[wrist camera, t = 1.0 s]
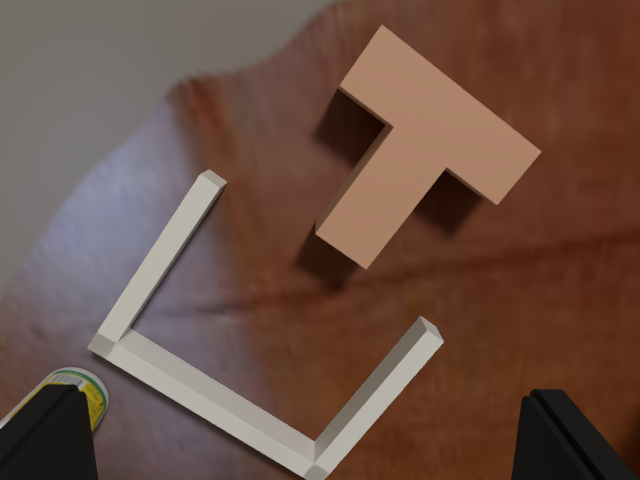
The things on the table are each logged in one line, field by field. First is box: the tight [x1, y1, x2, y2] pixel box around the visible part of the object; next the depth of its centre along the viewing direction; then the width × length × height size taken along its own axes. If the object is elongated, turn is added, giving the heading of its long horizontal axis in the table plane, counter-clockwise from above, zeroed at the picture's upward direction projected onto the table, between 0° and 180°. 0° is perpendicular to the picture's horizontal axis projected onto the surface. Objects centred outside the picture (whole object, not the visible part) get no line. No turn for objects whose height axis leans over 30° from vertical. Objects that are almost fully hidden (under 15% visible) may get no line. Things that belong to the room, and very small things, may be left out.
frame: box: [87, 170, 444, 480], centre depth 35 cm, size 20×15×2 cm
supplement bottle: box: [0, 367, 109, 432], centre depth 33 cm, size 5×5×10 cm
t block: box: [315, 25, 541, 269], centre depth 31 cm, size 12×12×4 cm
